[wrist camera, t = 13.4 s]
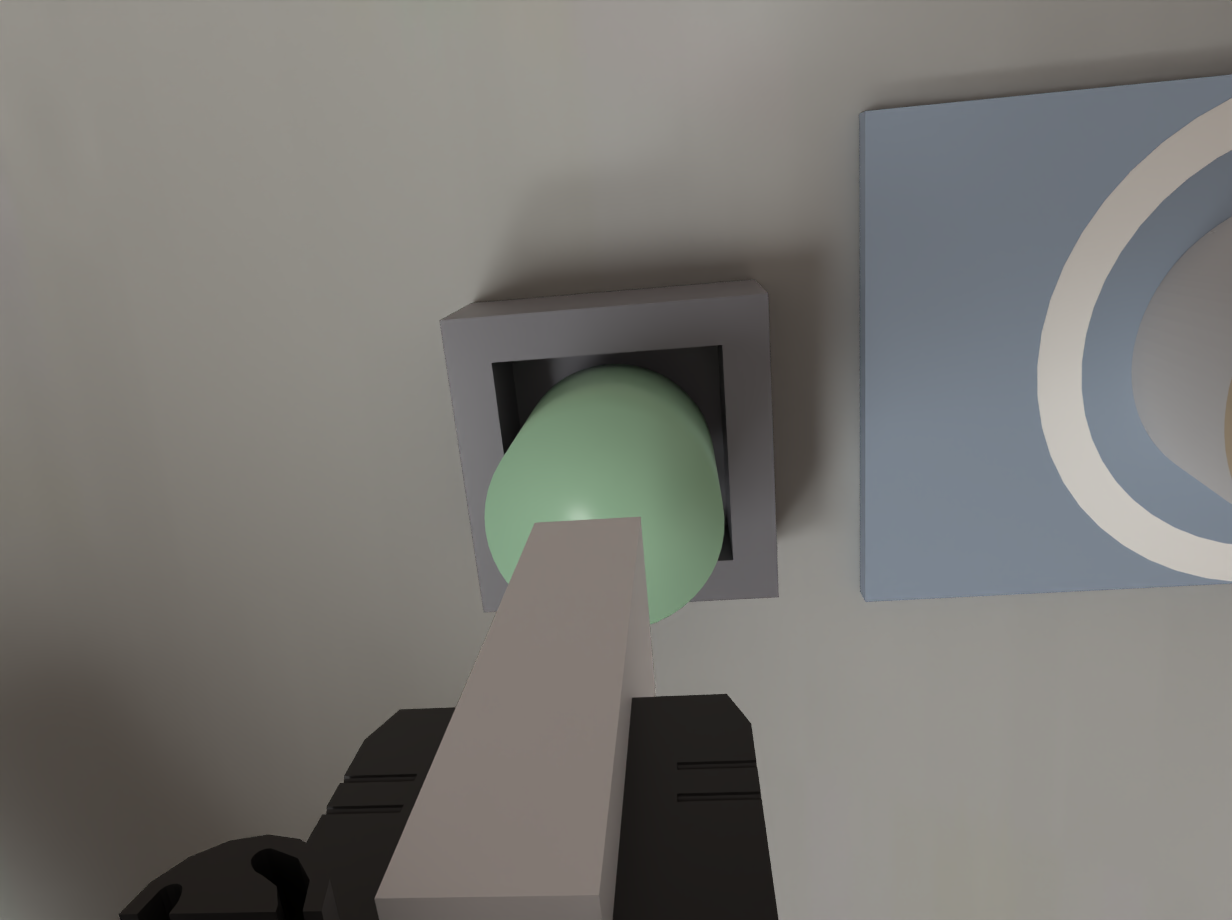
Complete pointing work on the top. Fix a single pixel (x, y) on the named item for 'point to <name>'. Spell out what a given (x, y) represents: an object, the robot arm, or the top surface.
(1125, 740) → the top surface
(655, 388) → the button
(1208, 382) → the coffee cup
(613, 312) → the button housing
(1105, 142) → the slate board
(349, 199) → the top surface
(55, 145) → the top surface
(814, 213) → the top surface
